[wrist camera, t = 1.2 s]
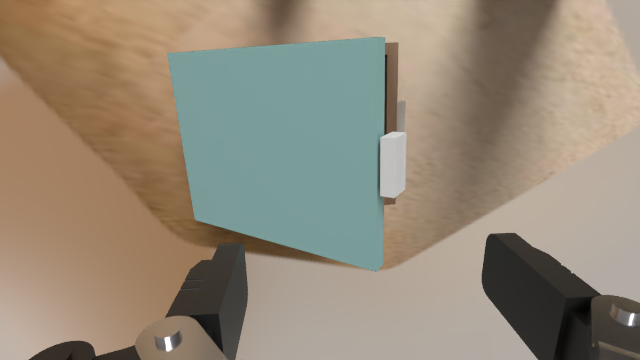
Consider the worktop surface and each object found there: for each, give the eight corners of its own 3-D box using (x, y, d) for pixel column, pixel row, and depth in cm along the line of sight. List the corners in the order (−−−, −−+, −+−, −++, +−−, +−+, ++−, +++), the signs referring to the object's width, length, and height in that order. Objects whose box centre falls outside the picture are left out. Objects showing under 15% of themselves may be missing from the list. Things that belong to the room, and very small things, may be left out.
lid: (409, 36, 23) (396, 35, 21) (403, 264, 28) (392, 277, 26) (185, 52, 34) (166, 53, 32) (209, 213, 39) (194, 220, 37)
